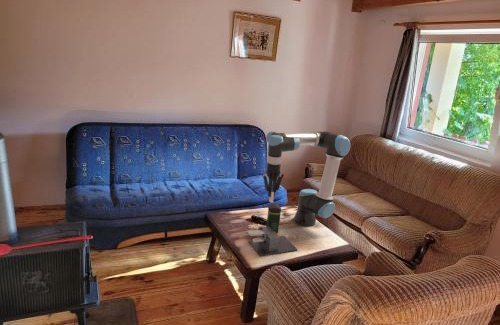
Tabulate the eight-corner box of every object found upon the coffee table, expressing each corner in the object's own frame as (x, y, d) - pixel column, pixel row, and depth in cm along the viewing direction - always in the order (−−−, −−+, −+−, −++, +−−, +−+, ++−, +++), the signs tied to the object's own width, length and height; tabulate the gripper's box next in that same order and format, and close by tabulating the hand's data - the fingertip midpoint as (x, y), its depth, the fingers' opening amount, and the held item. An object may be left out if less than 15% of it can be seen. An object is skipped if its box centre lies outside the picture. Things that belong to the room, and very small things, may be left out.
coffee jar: (279, 235, 224) (282, 208, 219) (266, 234, 223) (269, 207, 218) (277, 228, 233) (280, 202, 228) (265, 227, 233) (267, 201, 227)
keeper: (262, 231, 208) (262, 228, 208) (266, 236, 203) (266, 233, 202) (246, 231, 204) (247, 229, 204) (251, 236, 199) (251, 234, 198)
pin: (273, 240, 213) (274, 231, 211) (278, 245, 208) (279, 235, 206) (250, 243, 207) (251, 234, 206) (254, 248, 202) (255, 239, 200)
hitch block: (283, 237, 222) (285, 220, 219) (297, 250, 208) (299, 233, 204) (248, 241, 213) (250, 224, 210) (259, 256, 198) (261, 238, 195)
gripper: (281, 160, 203) (278, 198, 211) (260, 161, 198) (258, 200, 206) (287, 164, 197) (284, 203, 204) (266, 165, 192) (263, 205, 199)
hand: (271, 201), depth 205 cm, fingers closed
